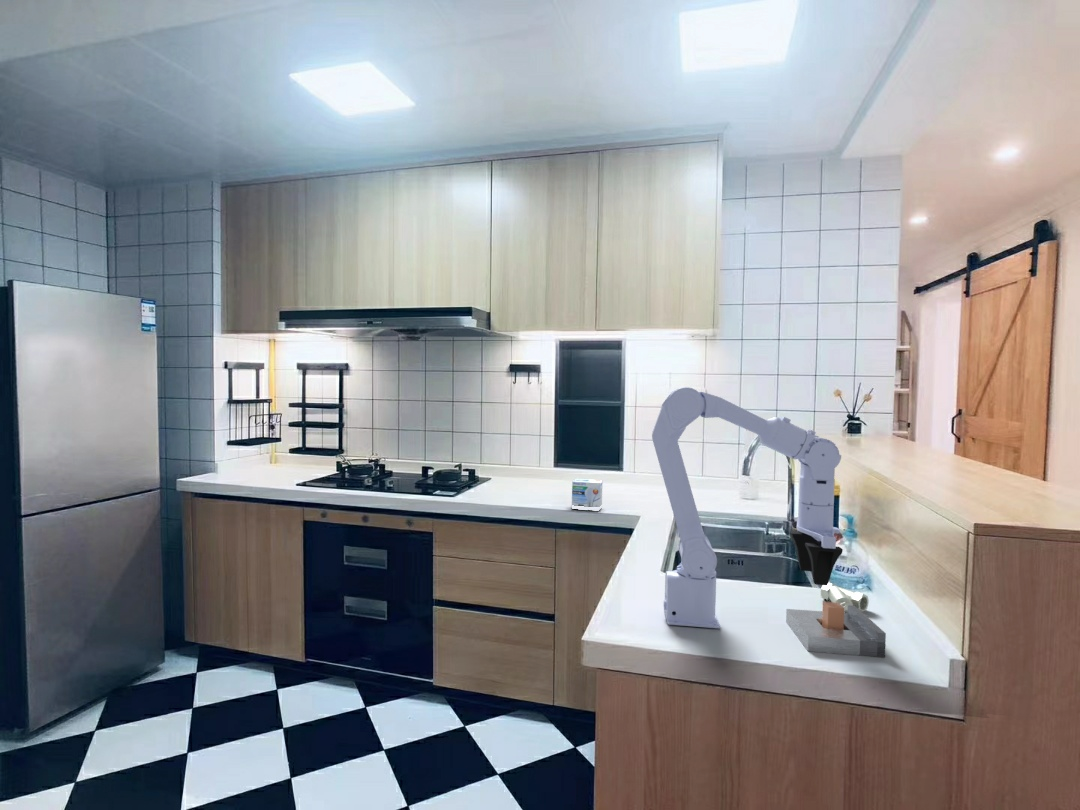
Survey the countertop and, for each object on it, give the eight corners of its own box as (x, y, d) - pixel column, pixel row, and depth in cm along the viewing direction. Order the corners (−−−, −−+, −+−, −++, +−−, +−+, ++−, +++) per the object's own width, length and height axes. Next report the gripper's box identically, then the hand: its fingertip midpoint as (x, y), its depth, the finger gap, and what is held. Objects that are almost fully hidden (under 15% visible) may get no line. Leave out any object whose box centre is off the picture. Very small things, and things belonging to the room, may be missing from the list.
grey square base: (807, 651, 92) (808, 627, 92) (786, 621, 104) (786, 600, 104) (885, 657, 90) (885, 633, 90) (853, 627, 102) (854, 605, 102)
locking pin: (827, 641, 96) (828, 607, 96) (821, 634, 98) (822, 601, 98) (843, 642, 95) (844, 608, 95) (837, 636, 98) (838, 602, 98)
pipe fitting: (849, 619, 107) (868, 610, 110) (848, 600, 107) (868, 591, 110) (811, 606, 114) (830, 597, 117) (810, 587, 114) (830, 580, 117)
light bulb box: (571, 510, 201) (571, 480, 201) (574, 506, 207) (574, 478, 207) (600, 512, 198) (600, 482, 198) (602, 508, 205) (602, 479, 205)
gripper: (856, 512, 92) (853, 593, 92) (825, 497, 106) (822, 566, 107) (811, 510, 93) (808, 589, 93) (786, 495, 107) (784, 563, 108)
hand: (813, 577), depth 100 cm, fingers open, 7 cm apart
